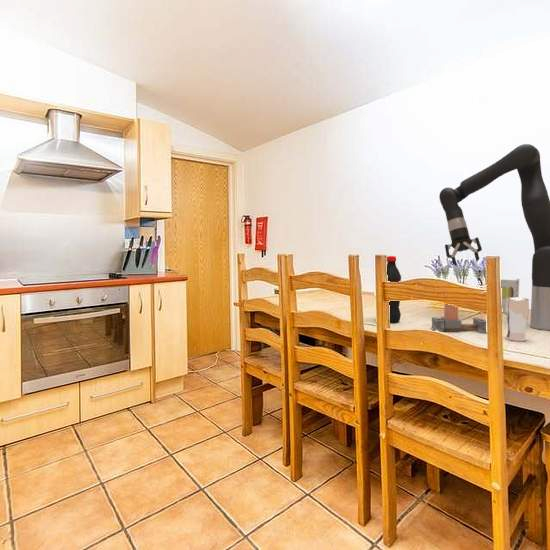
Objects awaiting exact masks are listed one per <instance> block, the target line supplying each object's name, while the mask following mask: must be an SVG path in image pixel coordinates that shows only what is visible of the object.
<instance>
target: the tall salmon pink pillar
mask: <svg viewBox="0 0 550 550" xmlns="http://www.w3.org/2000/svg"><path fill="white" fill-rule="evenodd" d="M440 318H441V319H442V320H444V328H461V324H462V319H460V318H459V306H458V307H455V306H452V305H448V304H445V303H444V314H443V316H441V317H440Z"/></svg>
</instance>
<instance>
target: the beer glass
mask: <svg viewBox="0 0 550 550" xmlns="http://www.w3.org/2000/svg"><path fill="white" fill-rule="evenodd" d="M529 300H530V299H529V298H527V297H526V298H525V297H519V296H518V297H509V298H507V303H506V313H505V316H506V318H505V319H506V324H507V333H506V337H505V339H506V340H510V341H514V342H526V341H527V337H526V327H527V323H528V319H529V313H530V303H529V302H530V301H529Z"/></svg>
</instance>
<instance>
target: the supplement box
mask: <svg viewBox="0 0 550 550" xmlns="http://www.w3.org/2000/svg"><path fill="white" fill-rule="evenodd" d="M500 278H501V288H502V308H503V313H502V314H506V303H507V298H509V297H518V298H519V295H520V294H519V293H520V278H516V277H515V278H514V277H500Z"/></svg>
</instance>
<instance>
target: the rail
mask: <svg viewBox="0 0 550 550" xmlns="http://www.w3.org/2000/svg"><path fill="white" fill-rule="evenodd" d="M472 319H473V320H472V321H473V322H472V323H461V328H444V320H442V319H441V317H439V316H435V317H431V329H432V328H433V329H434V330H433V329H432V330H433V331H435V330H438V331H444V332H466V331H478V332H477V333H479V332H480V333H479V334H487V333H486V321H487V320H485V319H484V318H483V317H474V318H472Z"/></svg>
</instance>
